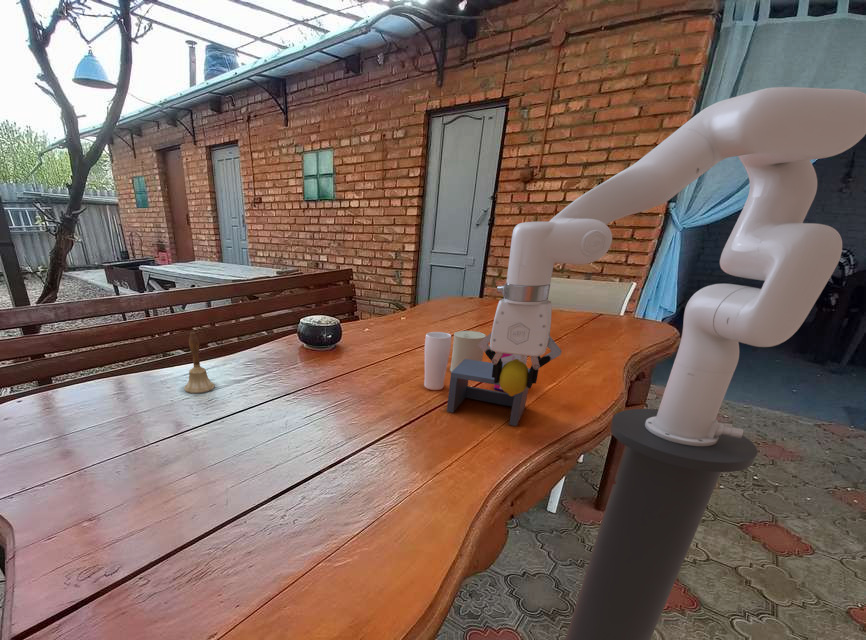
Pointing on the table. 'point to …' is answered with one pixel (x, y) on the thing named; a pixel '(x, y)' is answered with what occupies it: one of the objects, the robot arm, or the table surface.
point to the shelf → (482, 374)
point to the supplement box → (506, 359)
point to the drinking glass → (436, 359)
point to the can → (466, 347)
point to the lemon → (514, 377)
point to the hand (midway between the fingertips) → (513, 382)
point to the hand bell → (197, 370)
